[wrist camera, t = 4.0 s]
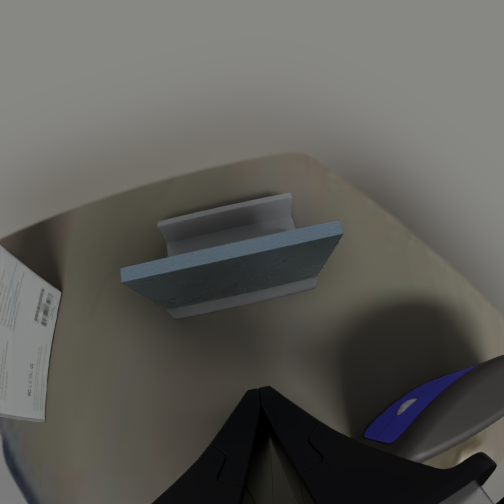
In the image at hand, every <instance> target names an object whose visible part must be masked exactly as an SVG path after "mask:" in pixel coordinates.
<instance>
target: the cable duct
mask: <svg viewBox="0 0 504 504" xmlns="http://www.w3.org/2000/svg"><path fill="white" fill-rule="evenodd" d="M291 210H292V195H291V193H286V194H281V195H275V196H270V197H265V198H260V199H255V200H251V201H246V202H241V203H236V204H232V205H227V206H222V207H218V208H213V209H209V210H205V211H200V212H196V213H192V214H187V215H183V216H179V217H175V218H171V219H167V220H163V221H159V222H157V225H158V228H159V230H160V232H161V234H162V236H163V237H164V239H165V241H166V243H167V255H168V257H172V256H176V255H181V254H185V253H189V252H194V251H198V250H203V249H207V248H212V247H216V246H221V245H225V244H230V243H234V242H239V241H243V240H248V239H253V238H257V237H262V236H266V235H271V234H276V233H280V232H285V231H290V230H294V229H296V228H295V225H294V222H293V220H292V217H291ZM319 274H320V272H319ZM319 274H318V275H317V277H313V278H309V279H305V280H301V281H297V282H293V283H289V284H285V285H280V286H276V287H272V288H267V289H263V290H259V291H254V292H250V293H245V294H241V295H236V296H232V297H227V298H222V299H218V300H213V301H208V302H203V303H198V304H193V305H188V306H183V307H178V308H173V309H168V310H167V309H166V311H167V312H168V313H169V314H170V315H171V316H172V317H173V318H174V319H178V318H184V317H189V316H194V315H199V314H204V313H209V312H214V311H219V310H223V309H228V308H233V307H237V306H242V305H247V304H251V303H256V302H260V301H264V300H269V299H273V298H277V297H281V296H286V295H290V294H294V293H298V292H302V291H306V290H310V289H314V288H315V287H316V283H317V280H318V277H319Z"/></svg>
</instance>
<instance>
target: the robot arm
mask: <svg viewBox="0 0 504 504" xmlns="http://www.w3.org/2000/svg"><path fill="white" fill-rule="evenodd" d="M270 438H271V441H272V444H273V446H274V448H275V451H276V453H277V456H278V458H279V460H280V463H281V465H282V468H283V470H284V472H285V475H286V477H287V479H288V482H289V484H290V486H291V488H292V491H293V493H294V495H295V497H296V500H297V502H298V504H494V503H493V502H492V500H491V499H490V497H489V496H488V495H487V493H486V492H485V491H484V489H483V488H482V487H481V486H482V485H483V484H484V483H485V482H486V480H487V479H488V478H489V477H490V475H491V474H492V473H493V472H494V470H495V469H496V467H497V464H496V463H495V462H494V461H493V460H492V459H491V458H490V457H489V456H488V455H486V454H485V453H483V452H478V453H476V454H474V455H472V456H470V457H469V458H467V459H466V460H464V461H463V462H461V463H460V464H458V465H457V466H455V467H452V468H449V469H438V468H434V467H431V466H427V465H424V464H421V463H418V462H414V461H411V460H408V459H405V458H402V457H399V456H397V455H394V454H391V453H388V452H385V451H383V450H380V449H377V448H375V447H372V446H370V445H367V444H365V443H362V442H360V441H357V440H355V439H353V438H350V437H348V436H346V435H344V434H341V433H339V432H337V431H335V430H334V429H332V428H330V427H329V426H327V425H325V424H324V423H322V422H321V421H319V420H317V419H316V418H314V417H313V416H311V415H310V414H309V413H307V412H306V411H304V410H303V409H301V408H300V407H298V406H297V405H296V404H294V403H293V402H291V401H290V400H289V399H287V398H286V397H284V396H283V395H282V394H280V393H279V392H277V391H276V390H275V389H273V388H272V387H271V386H265V387H261V388H259V389H257V388H256V389H251V390H248V391H247V392H246V393H245V395H244V396H243V398H242V399H241V401H240V402H239V403H238V405H237V406H236V408H235V409H234V411H233V412H232V414H231V415H230V417H229V418H228V420H227V421H226V422H225V424H224V425H223V427H222V428H221V430H220V431H219V432H218V434H217V435H216V437H215V438H214V439H213V441H212V442H211V444H209V446H208V447H207V448H206V450H205V451H204V452H203V454H202V455H201V456H200V457H199V458H198V460H197V461H196V462H195V463H194V464H193V465H192V466H191V467H190V468H189V469H188V470H187V471H186V472H185V473H184V474H183V475H182V476H181V477H180V478H179V479H178V480H177V481H176V482H175V483H174V484H173V485H172V486H170V487H169V488H168V489H167V490H166V491H165V492H164V493H163V494H162V495H161V496H160V497H158V498H157V499H156V500H155V501H154V502H153V503H152V504H273V487H272V465H271V443H270ZM496 504H504V497H503V498H502V499H501V500H500V501H499V502H498V503H496Z"/></svg>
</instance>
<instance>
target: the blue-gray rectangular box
mask: <svg viewBox="0 0 504 504" xmlns="http://www.w3.org/2000/svg"><path fill="white" fill-rule="evenodd" d="M343 234H344V233H343V230H342V227H341V225H340V222H339V220H337V221H332V222H328V223H323V224H318V225H313V226H309V227H304V228H299V229H294V230H290V231H285V232H280V233H276V234H271V235H266V236H262V237H257V238H253V239H248V240H243V241H239V242H234V243H230V244H225V245H221V246H216V247H212V248H207V249H203V250H198V251H194V252H189V253H185V254H181V255H176V256H172V257H167V258H163V259H159V260H154V261H150V262H146V263H141V264H137V265H133V266H128V267H124V268H120V269H121V282H122V283H123V284H125V285H126V286H128V287H130V288H131V289H133V290H135V291H136V292H138V293H140V294H141V295H143V296H145V297H146V298H148V299H150V300H151V301H153V302H155V303H157V304H158V305H160V306H162V307H164V308H165V309H167V310H168V309H173V308H178V307H183V306H188V305H193V304H198V303H203V302H208V301H213V300H218V299H222V298H227V297H232V296H236V295H241V294H245V293H250V292H254V291H259V290H263V289H267V288H272V287H276V286H280V285H285V284H289V283H293V282H297V281H301V280H305V279H309V278H313V277H317V275H318V274H319V272H320V271H321V269H322V268H323V266H324V264H325V263H326V261H327V260H328V258H329V257H330V255H331V253H332V252H333V250H334V248H335V247H336V245H337V244H338V242H339V240H340V239H341V237H342V235H343Z"/></svg>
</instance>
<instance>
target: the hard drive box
mask: <svg viewBox="0 0 504 504" xmlns="http://www.w3.org/2000/svg"><path fill="white" fill-rule="evenodd" d="M60 298H61V292H60V291H59V290H58V289H57V288H55V287H54V286H52V285H51V284H50V283H48V282H47V281H45V280H44V279H43V278H41V277H40V276H39V275H37V274H36V273H35V272H34V271H32V270H31V269H30V268H29V267H27V266H26V265H25V264H24V263H22V262H21V261H20V260H19V259H18V258H16V257H15V256H14V255H13V254H12V253H11V252H9V251H8V250H7V249H6V248H5V247H4V246H3V245H1V244H0V417H6V418H12V419H19V420H28V421H36V422H44V421H45V402H46V392H47V376H48V367H49V359H50V351H51V345H52V339H53V333H54V330H55V323H56V319H57V311H58V307H59V302H60Z"/></svg>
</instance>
